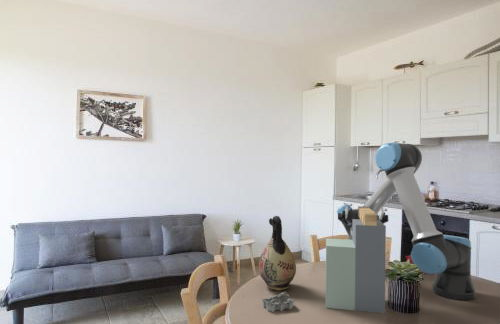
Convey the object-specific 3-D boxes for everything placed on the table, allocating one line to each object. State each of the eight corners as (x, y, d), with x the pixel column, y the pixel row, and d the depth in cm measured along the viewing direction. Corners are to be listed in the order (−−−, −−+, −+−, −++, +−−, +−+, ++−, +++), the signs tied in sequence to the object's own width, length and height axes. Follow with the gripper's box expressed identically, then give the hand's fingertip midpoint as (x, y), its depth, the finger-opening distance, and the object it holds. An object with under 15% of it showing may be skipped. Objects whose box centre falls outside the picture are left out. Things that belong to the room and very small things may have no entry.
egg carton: (287, 302, 132) (287, 291, 132) (296, 310, 125) (296, 298, 125) (260, 305, 129) (260, 293, 129) (267, 313, 122) (268, 301, 122)
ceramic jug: (256, 281, 155) (257, 212, 155) (291, 280, 156) (291, 212, 157) (261, 295, 138) (262, 218, 138) (300, 294, 140) (301, 218, 140)
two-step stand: (325, 293, 140) (326, 218, 141) (378, 298, 136) (379, 220, 137) (325, 307, 127) (326, 223, 127) (384, 313, 123) (385, 226, 123)
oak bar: (358, 215, 148) (358, 206, 148) (368, 216, 147) (368, 206, 147) (364, 225, 124) (364, 213, 124) (376, 225, 124) (376, 214, 124)
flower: (422, 272, 165) (426, 257, 168) (401, 265, 170) (406, 250, 173) (421, 279, 172) (425, 264, 175) (401, 272, 177) (406, 257, 180)
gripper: (331, 219, 164) (332, 200, 146) (388, 221, 159) (396, 202, 141) (331, 235, 160) (332, 217, 142) (389, 238, 155) (398, 219, 137)
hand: (364, 209), depth 142 cm, fingers open, 13 cm apart
